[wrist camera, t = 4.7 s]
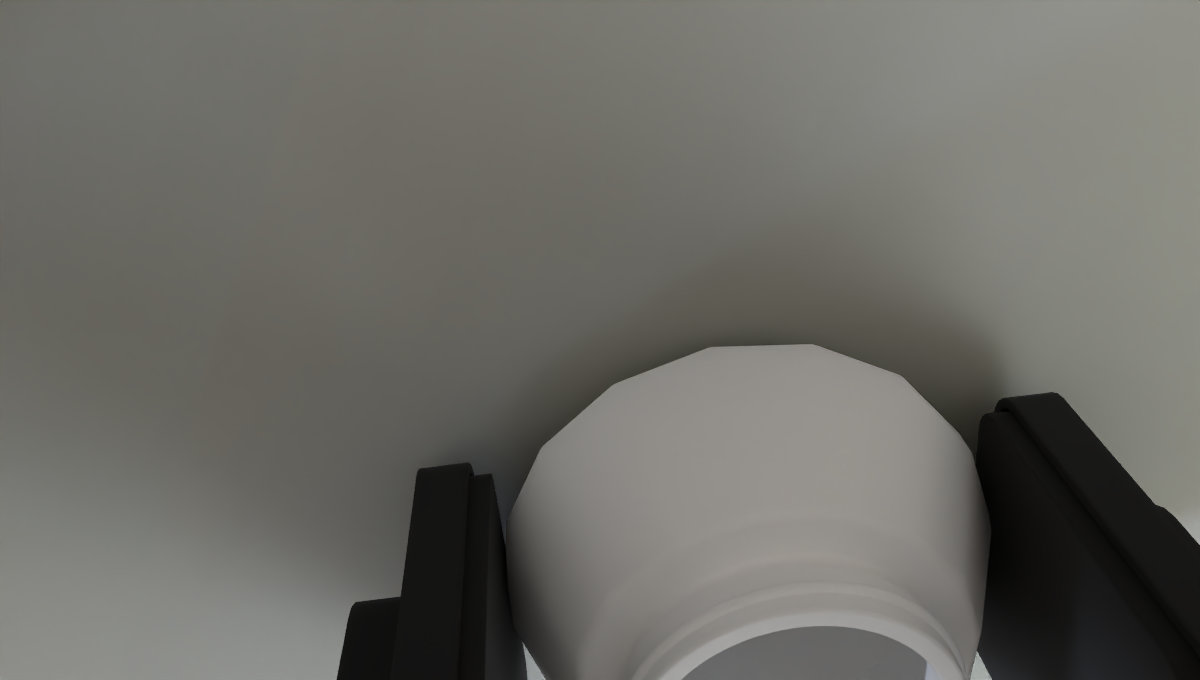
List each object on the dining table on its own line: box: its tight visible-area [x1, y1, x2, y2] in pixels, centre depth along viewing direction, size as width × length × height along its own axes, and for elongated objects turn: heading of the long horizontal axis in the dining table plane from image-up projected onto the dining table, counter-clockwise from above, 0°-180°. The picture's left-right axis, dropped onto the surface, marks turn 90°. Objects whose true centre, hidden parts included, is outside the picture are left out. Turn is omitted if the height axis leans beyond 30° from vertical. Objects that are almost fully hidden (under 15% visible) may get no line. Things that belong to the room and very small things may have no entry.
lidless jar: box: [506, 344, 991, 680], centre depth 10 cm, size 5×3×5 cm
